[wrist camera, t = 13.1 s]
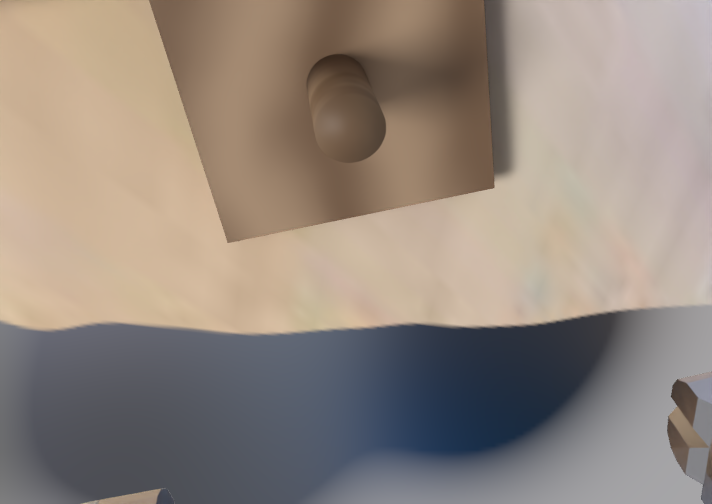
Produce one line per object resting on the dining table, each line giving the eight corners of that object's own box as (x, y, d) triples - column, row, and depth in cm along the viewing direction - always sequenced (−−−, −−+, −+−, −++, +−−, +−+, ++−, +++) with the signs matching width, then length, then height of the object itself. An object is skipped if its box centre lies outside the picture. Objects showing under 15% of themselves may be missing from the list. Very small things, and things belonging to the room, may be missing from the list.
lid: (471, -120, 25) (521, -107, 20) (489, 180, 32) (529, 242, 28) (136, -53, 25) (107, -24, 20) (228, 234, 32) (222, 306, 27)
